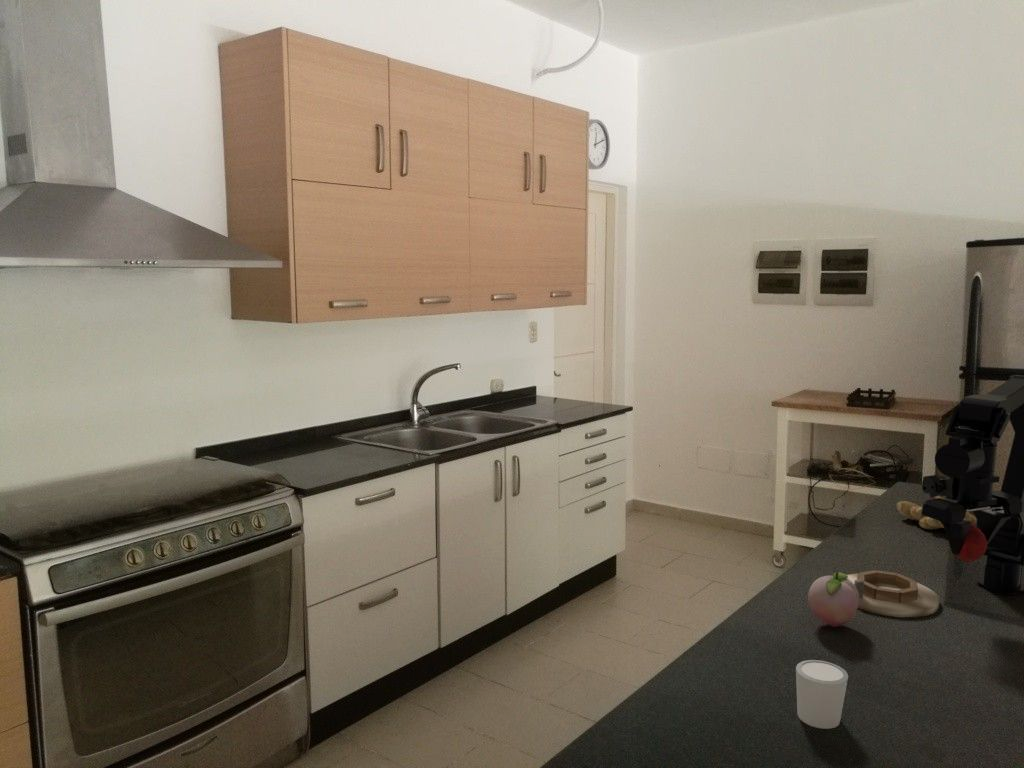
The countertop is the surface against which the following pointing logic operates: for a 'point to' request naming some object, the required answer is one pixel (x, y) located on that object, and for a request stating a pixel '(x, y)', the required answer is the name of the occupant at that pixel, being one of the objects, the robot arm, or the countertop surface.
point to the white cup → (820, 693)
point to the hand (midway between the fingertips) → (967, 552)
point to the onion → (973, 545)
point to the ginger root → (924, 521)
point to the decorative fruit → (834, 599)
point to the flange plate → (900, 609)
